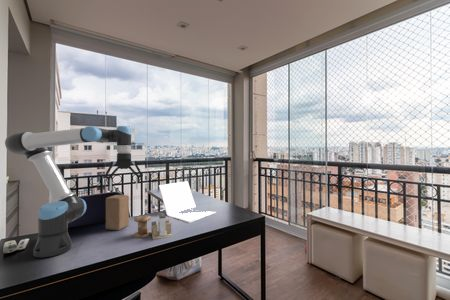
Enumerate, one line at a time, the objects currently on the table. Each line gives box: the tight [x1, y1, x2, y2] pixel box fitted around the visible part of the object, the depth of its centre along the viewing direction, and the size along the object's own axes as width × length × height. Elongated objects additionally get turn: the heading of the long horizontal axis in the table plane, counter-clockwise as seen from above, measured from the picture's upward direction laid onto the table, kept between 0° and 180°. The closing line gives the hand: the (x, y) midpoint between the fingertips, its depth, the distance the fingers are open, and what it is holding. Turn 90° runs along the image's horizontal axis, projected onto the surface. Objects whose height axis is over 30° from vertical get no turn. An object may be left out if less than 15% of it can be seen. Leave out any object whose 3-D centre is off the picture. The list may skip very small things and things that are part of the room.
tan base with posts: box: [150, 219, 172, 240], centre depth 126 cm, size 10×10×7 cm
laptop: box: [158, 180, 217, 224], centre depth 168 cm, size 30×35×23 cm
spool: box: [133, 215, 152, 239], centre depth 126 cm, size 9×9×10 cm
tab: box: [157, 212, 166, 236], centre depth 126 cm, size 3×9×11 cm, turn 24°
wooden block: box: [105, 194, 130, 231], centre depth 138 cm, size 10×10×20 cm
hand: (123, 189), depth 124 cm, fingers open, 13 cm apart
